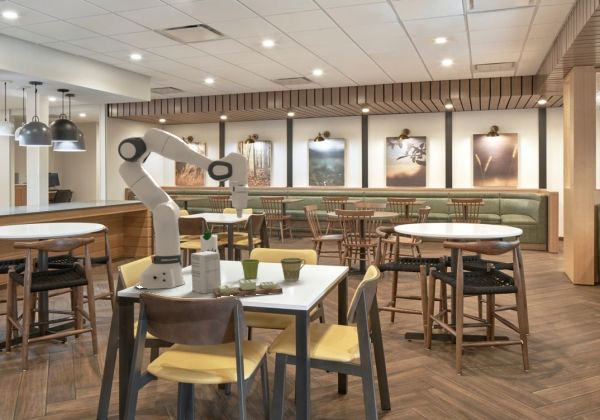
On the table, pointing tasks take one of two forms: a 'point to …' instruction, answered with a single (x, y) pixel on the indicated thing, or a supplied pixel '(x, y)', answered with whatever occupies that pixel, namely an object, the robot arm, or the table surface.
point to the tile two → (247, 284)
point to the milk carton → (209, 242)
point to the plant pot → (250, 268)
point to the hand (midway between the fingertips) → (239, 217)
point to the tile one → (226, 288)
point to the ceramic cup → (291, 268)
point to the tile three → (268, 285)
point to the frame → (248, 291)
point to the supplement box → (205, 271)
